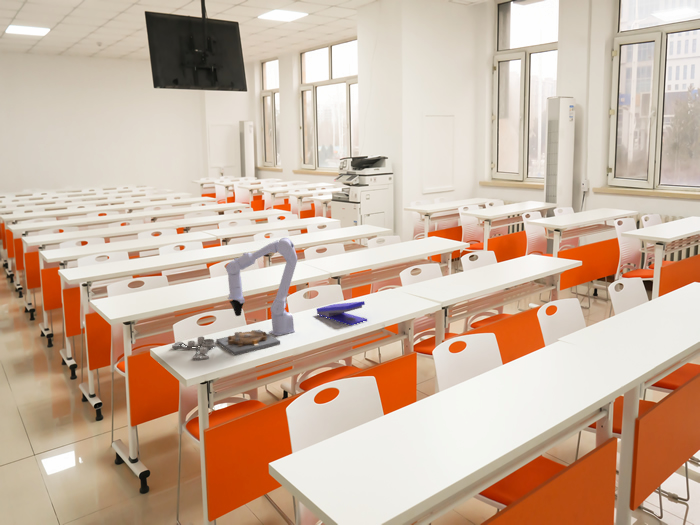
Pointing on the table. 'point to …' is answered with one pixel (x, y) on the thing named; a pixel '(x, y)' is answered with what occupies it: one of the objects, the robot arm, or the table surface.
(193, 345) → the pulley system
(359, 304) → the stapler
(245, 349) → the board
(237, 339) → the brown flat round piece
